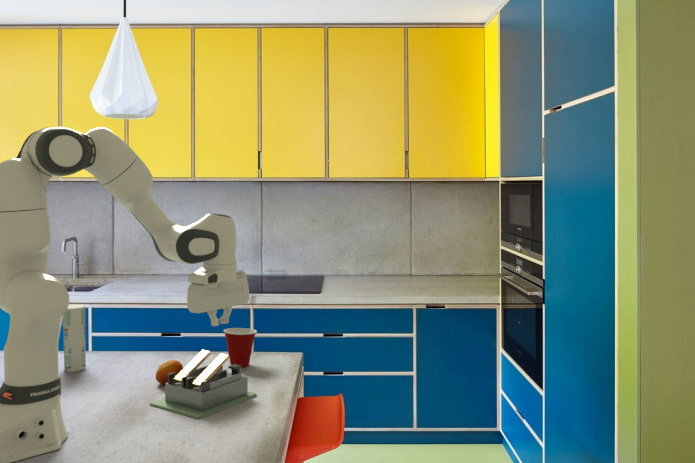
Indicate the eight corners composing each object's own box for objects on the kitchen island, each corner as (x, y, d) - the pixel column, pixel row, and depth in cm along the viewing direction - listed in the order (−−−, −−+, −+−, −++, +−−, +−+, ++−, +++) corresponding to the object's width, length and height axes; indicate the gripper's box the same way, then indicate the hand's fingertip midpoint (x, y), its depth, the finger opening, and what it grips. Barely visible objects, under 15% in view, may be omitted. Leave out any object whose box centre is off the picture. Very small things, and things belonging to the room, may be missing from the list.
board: (197, 419, 162) (197, 416, 162) (150, 405, 172) (150, 402, 172) (256, 395, 180) (256, 393, 180) (210, 384, 190) (210, 382, 190)
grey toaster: (202, 412, 165) (202, 381, 165) (165, 401, 173) (164, 372, 172) (247, 394, 179) (247, 366, 179) (211, 385, 187) (211, 358, 186)
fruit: (182, 384, 186) (168, 359, 186) (160, 396, 187) (147, 372, 188) (194, 376, 193) (181, 352, 194) (173, 387, 195) (160, 364, 195)
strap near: (200, 388, 167) (199, 385, 167) (193, 386, 169) (191, 383, 168) (229, 357, 176) (228, 355, 175) (221, 356, 177) (220, 353, 177)
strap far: (182, 383, 171) (180, 380, 170) (174, 381, 172) (173, 378, 172) (210, 353, 179) (209, 351, 179) (203, 352, 181) (202, 349, 180)
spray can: (88, 369, 204) (87, 307, 202) (66, 373, 200) (64, 309, 199) (83, 365, 209) (82, 304, 208) (62, 368, 206) (60, 305, 204)
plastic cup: (264, 364, 212) (264, 328, 211) (241, 372, 203) (241, 334, 202) (239, 359, 218) (239, 324, 217) (216, 366, 209) (216, 330, 208)
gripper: (237, 268, 183) (237, 316, 184) (183, 276, 166) (183, 329, 167) (254, 270, 180) (254, 319, 181) (200, 278, 163) (200, 332, 164)
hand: (219, 324), depth 174 cm, fingers open, 2 cm apart
